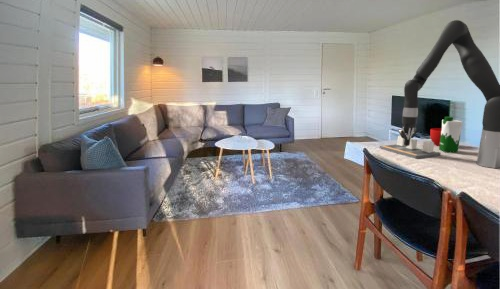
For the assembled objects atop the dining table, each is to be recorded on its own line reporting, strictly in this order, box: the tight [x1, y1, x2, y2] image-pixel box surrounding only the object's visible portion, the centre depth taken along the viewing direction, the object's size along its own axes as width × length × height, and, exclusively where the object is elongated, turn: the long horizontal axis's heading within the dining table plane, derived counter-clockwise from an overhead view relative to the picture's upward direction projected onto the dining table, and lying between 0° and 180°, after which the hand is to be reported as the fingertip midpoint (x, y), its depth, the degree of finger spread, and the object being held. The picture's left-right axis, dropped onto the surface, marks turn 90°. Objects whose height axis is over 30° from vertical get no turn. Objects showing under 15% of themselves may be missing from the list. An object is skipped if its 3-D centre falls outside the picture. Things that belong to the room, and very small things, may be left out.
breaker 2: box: [422, 140, 435, 153], centre depth 162 cm, size 4×4×6 cm
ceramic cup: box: [429, 127, 442, 147], centre depth 185 cm, size 13×17×10 cm
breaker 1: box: [395, 135, 405, 146], centre depth 179 cm, size 4×4×6 cm
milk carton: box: [438, 116, 464, 154], centre depth 169 cm, size 9×9×20 cm
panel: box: [379, 143, 442, 160], centre depth 170 cm, size 26×18×2 cm
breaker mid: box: [406, 138, 418, 149], centre depth 170 cm, size 4×4×6 cm
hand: (406, 145), depth 168 cm, fingers closed
